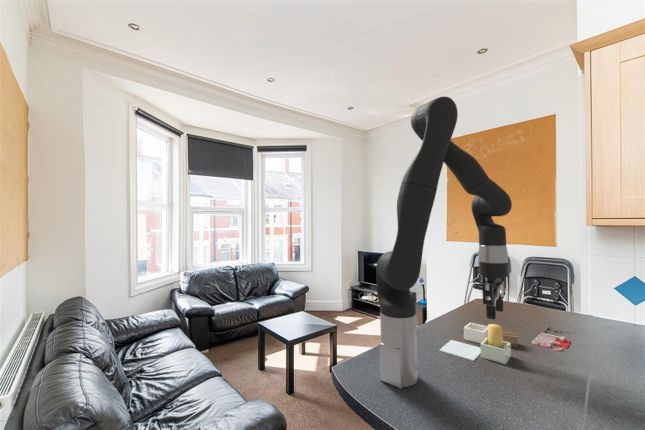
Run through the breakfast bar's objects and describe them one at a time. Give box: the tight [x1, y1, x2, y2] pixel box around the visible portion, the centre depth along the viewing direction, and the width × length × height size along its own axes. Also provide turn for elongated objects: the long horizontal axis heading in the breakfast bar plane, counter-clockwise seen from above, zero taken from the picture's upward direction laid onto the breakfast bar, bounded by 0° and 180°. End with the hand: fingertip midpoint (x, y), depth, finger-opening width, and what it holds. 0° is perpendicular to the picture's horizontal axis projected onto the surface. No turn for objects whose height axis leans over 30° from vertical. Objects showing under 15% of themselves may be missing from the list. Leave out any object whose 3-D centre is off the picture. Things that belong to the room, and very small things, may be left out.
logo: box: [531, 325, 571, 352], centre depth 99 cm, size 25×2×10 cm
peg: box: [487, 323, 503, 349], centre depth 86 cm, size 4×4×9 cm
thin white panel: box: [439, 339, 481, 362], centre depth 91 cm, size 10×10×1 cm
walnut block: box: [502, 330, 519, 349], centre depth 94 cm, size 4×4×4 cm
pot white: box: [463, 322, 488, 344], centre depth 99 cm, size 6×6×4 cm
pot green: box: [479, 337, 512, 365], centre depth 86 cm, size 6×6×4 cm
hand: (495, 314), depth 86 cm, fingers open, 8 cm apart
